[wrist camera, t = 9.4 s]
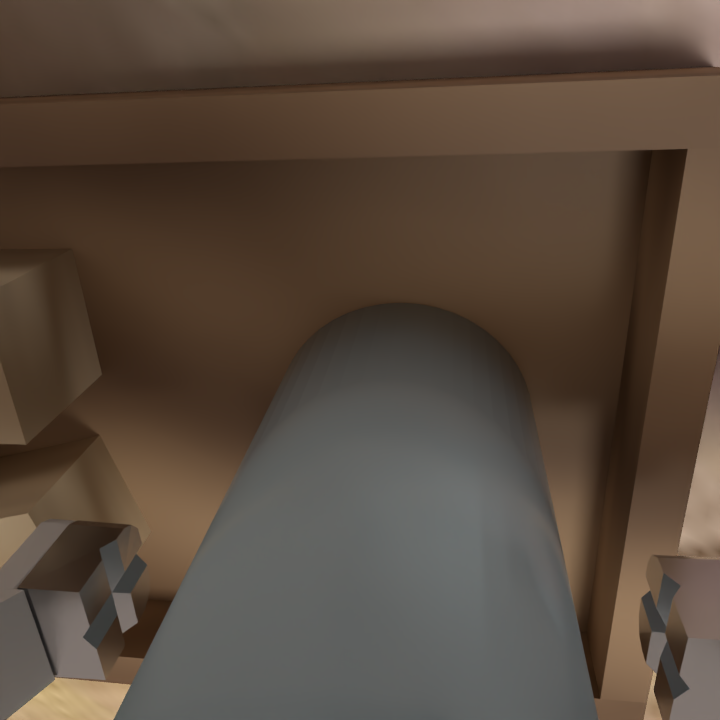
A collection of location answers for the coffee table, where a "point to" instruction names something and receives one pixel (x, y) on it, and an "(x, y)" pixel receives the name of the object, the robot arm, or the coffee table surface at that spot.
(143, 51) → the coffee table surface
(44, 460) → the block
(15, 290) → the block
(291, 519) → the glossy pale blue cylinder
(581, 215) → the tray
